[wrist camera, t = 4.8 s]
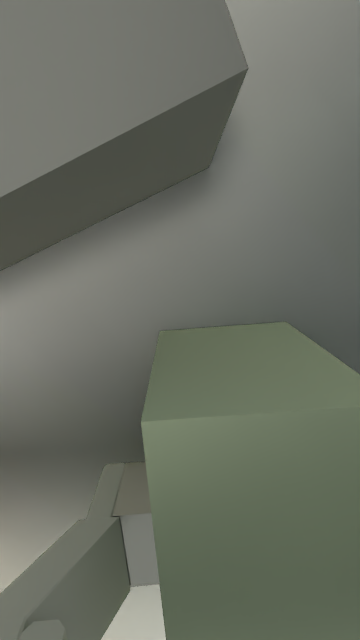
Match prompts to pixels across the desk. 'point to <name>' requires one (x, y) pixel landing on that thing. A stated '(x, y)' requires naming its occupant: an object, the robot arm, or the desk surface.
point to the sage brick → (254, 484)
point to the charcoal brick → (106, 108)
